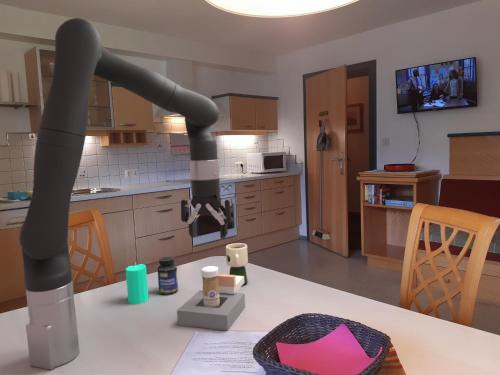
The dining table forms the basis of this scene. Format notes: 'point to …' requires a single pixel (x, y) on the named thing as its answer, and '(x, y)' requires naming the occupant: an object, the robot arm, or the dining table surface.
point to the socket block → (211, 311)
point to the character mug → (237, 259)
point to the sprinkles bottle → (210, 287)
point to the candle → (137, 284)
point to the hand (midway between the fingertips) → (208, 237)
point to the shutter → (229, 283)
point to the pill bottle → (167, 276)
